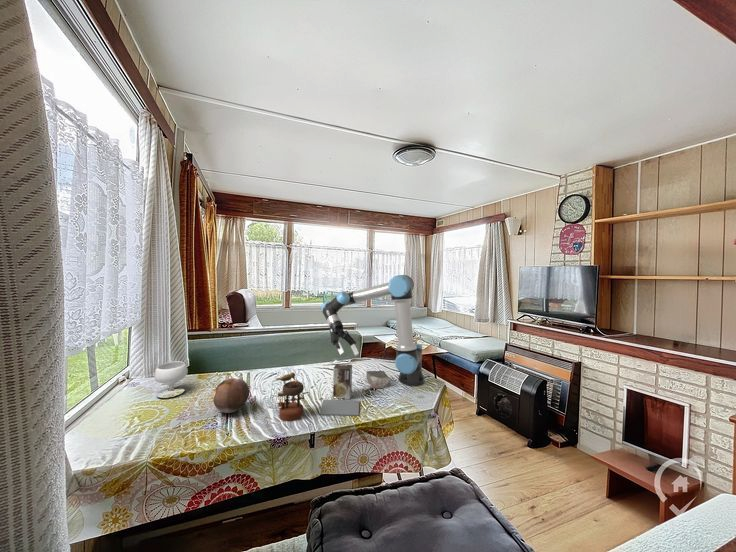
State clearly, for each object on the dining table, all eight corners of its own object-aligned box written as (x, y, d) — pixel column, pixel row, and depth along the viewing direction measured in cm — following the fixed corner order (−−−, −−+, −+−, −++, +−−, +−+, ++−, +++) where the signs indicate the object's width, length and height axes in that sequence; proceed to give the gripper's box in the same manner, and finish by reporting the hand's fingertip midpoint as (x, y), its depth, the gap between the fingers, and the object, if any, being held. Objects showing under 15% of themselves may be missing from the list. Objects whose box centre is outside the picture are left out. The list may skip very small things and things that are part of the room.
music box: (278, 425, 117) (278, 377, 118) (273, 415, 127) (273, 371, 128) (313, 416, 125) (312, 371, 126) (305, 407, 134) (305, 365, 135)
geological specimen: (383, 369, 172) (390, 377, 158) (382, 379, 172) (390, 388, 157) (366, 370, 169) (372, 378, 155) (365, 380, 169) (372, 389, 155)
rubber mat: (359, 401, 140) (359, 400, 140) (358, 416, 126) (358, 414, 126) (323, 400, 140) (323, 399, 140) (319, 415, 126) (319, 413, 126)
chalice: (155, 403, 132) (155, 372, 132) (153, 392, 143) (153, 364, 142) (189, 395, 142) (189, 366, 141) (185, 385, 152) (185, 358, 152)
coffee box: (351, 394, 148) (352, 364, 148) (349, 399, 142) (350, 368, 141) (335, 392, 149) (335, 363, 148) (332, 398, 143) (333, 367, 142)
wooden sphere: (252, 401, 137) (252, 372, 136) (244, 418, 122) (244, 385, 121) (219, 403, 134) (220, 373, 133) (207, 420, 119) (207, 386, 119)
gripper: (344, 330, 176) (358, 358, 164) (316, 325, 157) (330, 357, 145) (352, 322, 174) (367, 351, 162) (325, 316, 155) (340, 348, 143)
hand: (350, 354), depth 153 cm, fingers open, 13 cm apart
